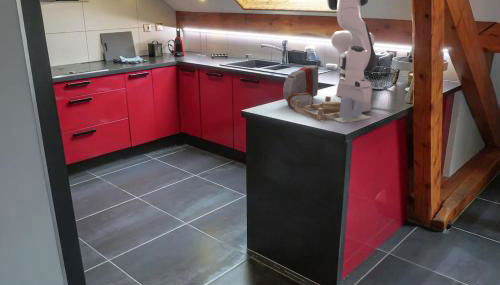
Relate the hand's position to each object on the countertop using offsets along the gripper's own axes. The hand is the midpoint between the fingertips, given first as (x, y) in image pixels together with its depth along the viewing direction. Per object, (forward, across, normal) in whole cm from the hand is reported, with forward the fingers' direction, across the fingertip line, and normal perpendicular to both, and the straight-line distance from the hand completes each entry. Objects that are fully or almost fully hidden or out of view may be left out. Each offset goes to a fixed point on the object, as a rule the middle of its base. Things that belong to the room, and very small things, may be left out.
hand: (351, 108), depth 211 cm
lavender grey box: (+4, 0, 0) cm, 4 cm away
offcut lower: (+6, -15, 0) cm, 16 cm away
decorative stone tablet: (+6, -42, 0) cm, 42 cm away
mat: (+6, 0, +1) cm, 6 cm away
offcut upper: (+3, -15, -1) cm, 15 cm away
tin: (+6, -30, -9) cm, 32 cm away
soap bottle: (+6, -12, +17) cm, 21 cm away
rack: (+6, -15, -4) cm, 16 cm away
